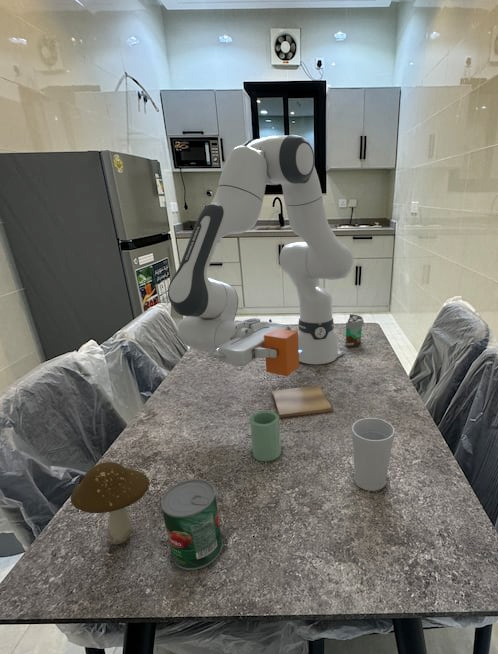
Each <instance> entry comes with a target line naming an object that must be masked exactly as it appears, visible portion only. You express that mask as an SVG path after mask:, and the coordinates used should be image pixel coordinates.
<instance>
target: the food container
mask: <svg viewBox="0 0 498 654" xmlns="http://www.w3.org/2000/svg"><path fill="white" fill-rule="evenodd" d="M364 325H365V320H364V318H363V317H362V316H361V315H358V314H352V313H350V314H349V318H348V320H347V321H346V323H345V348H355V347H358V346H360V345H361V341H362V331H363V326H364Z"/></svg>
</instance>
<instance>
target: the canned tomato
mask: <svg viewBox="0 0 498 654" xmlns="http://www.w3.org/2000/svg"><path fill="white" fill-rule="evenodd" d="M160 507H161V509H162V515H163V521H164V524H165V528H166V534H167V538H168V543H169V547H170V553H171V557H172V561H173V563H174V564H175V566H177V567H178V568H179V569H181V570H185V571H196V570H199V569H204V568H205V567H207V566H209V565H211V564H212V563H213V562H215V561H216V559H217V558H218V557H219V556H220V554H221V552H222V550H223V544H224V543H223V538H222V530H221V525H220V524H221V523H220V518H219V517H220V516H219V510H218V502H217V496H216V489H215V486H214V485H213V484H212V483H211V482H209V481H207V480H205V479H202V478H201V479H200V478H192V479H185V480H183V481H182V480H181V481H180V482H178V483H176V484H174V485H172V486H171V487H169V488H168V489H167V490H166V491H165V492H164V494H162V497H161V500H160Z"/></svg>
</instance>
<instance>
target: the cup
mask: <svg viewBox="0 0 498 654" xmlns="http://www.w3.org/2000/svg"><path fill="white" fill-rule="evenodd" d="M395 433H396V429H395V427H394V425H392V424H391V423H390V422H389V421H387V420H384V419H381V418H378V417H365V418H361V419H358V420H356V421H355V422H354V423H352V425H351V436H352V450H353V454H352V455H353V470H354V472H353V473H354V475H353V476H354V477H353V480H354V483H355V484H356V485H357V486H358V487H359V488H360V489H362V490H365V491H369V492H374V491H379V490H381V489H383V488H385V486H386V484H387V478H388V477H387V476H388V471H389V465H390V459H391V453H392V448H393V444H394V438H395Z"/></svg>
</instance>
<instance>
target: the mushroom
mask: <svg viewBox="0 0 498 654" xmlns="http://www.w3.org/2000/svg"><path fill="white" fill-rule="evenodd" d="M150 483H151V482H150V479H149V477H147V475H145V473H143V472H141V471H139V470H137V469H132V468H128V467H125V466H123V465H122V464H120V463H118V462H114V461H104V462H100V463H97V464H96V465H94V466H92V467H91V468H89V470H87V472H86V473H85V474H84V476H83V478H82V480H81V482H79V483H78V484H77V485H76V486H75V488H74V489H73V490H72V492H71V494H70V503H71V505H72V506H73V507H74V508H75V509H76V510H78V511H80V512H84V513H87V514H105V513H109V515H108V522H107V523H108V525H107V539H108V541H109V542H110V543H111V544H113V545H120V544H123V543H124V542H127V540H129V538H130V536H131V534H132V530H133V525H132V521H131V517H130V514H129V513H128V510H127V507H130V506H132V505H133V504H135V503H137V502H138V501H139V500H141V499H142V498H143V497H144V496H145V494H146V493H147V491H148V490H149V487H150Z"/></svg>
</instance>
